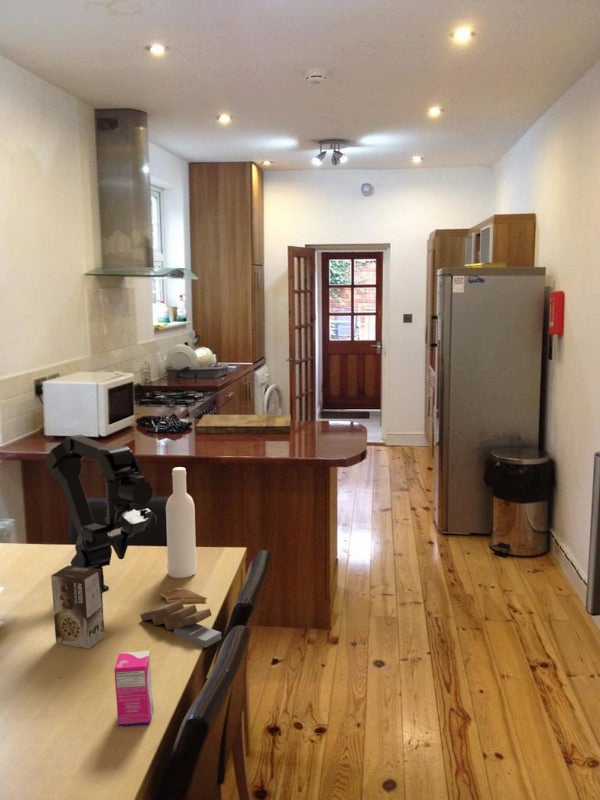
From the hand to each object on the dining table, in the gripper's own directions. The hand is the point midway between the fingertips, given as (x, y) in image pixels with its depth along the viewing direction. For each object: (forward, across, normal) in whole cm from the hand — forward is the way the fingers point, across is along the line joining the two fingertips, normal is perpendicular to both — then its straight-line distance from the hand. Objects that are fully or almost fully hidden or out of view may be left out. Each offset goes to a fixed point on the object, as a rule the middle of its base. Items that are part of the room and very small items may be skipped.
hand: (121, 558), depth 176 cm
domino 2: (+11, 0, -15) cm, 19 cm away
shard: (+13, +13, -8) cm, 20 cm away
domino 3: (+11, +1, -19) cm, 22 cm away
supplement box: (+12, -27, -43) cm, 52 cm away
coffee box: (+12, -17, -8) cm, 23 cm away
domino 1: (+11, 0, -11) cm, 16 cm away
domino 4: (+11, 0, -23) cm, 25 cm away
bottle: (+12, +23, +5) cm, 27 cm away
